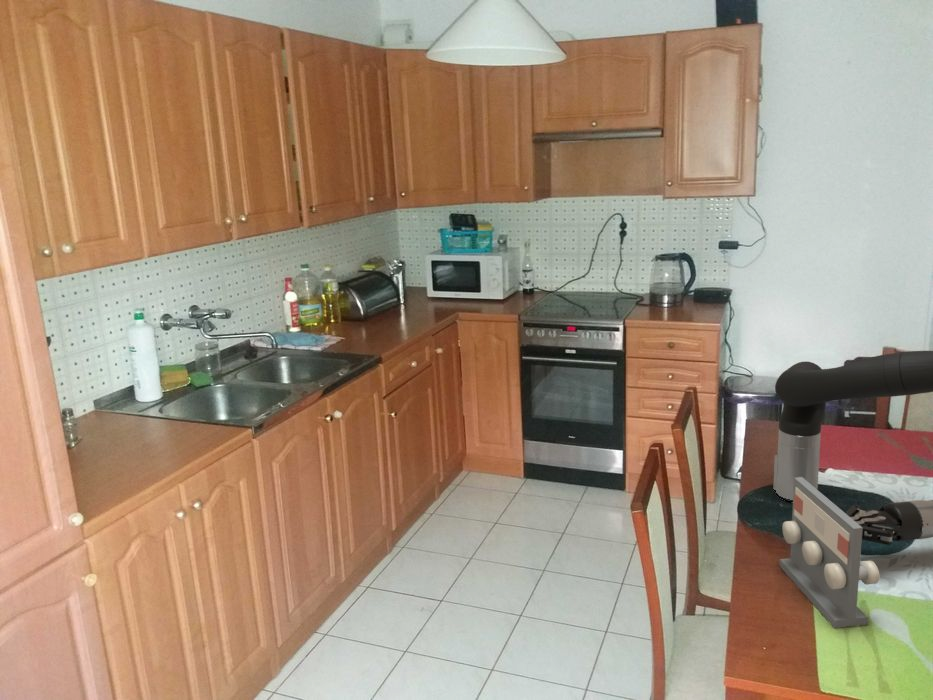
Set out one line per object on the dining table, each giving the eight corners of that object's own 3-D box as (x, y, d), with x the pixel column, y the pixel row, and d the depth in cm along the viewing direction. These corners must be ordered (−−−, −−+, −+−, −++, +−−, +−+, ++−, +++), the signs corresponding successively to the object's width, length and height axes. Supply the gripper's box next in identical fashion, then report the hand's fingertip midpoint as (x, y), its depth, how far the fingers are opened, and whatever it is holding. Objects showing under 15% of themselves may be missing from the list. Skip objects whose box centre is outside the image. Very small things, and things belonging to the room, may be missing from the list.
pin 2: (864, 576, 139) (866, 554, 138) (879, 589, 135) (880, 567, 133) (823, 580, 138) (824, 559, 137) (836, 594, 134) (838, 572, 133)
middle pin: (840, 553, 147) (842, 533, 145) (853, 565, 142) (855, 544, 141) (801, 557, 146) (802, 537, 145) (813, 569, 142) (814, 548, 141)
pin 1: (819, 533, 154) (820, 513, 153) (830, 544, 150) (832, 524, 149) (781, 537, 154) (782, 517, 153) (792, 548, 150) (793, 528, 148)
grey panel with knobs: (807, 563, 156) (812, 476, 151) (866, 625, 136) (875, 526, 131) (779, 566, 156) (783, 478, 151) (834, 628, 136) (841, 529, 131)
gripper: (893, 488, 158) (813, 496, 157) (936, 518, 145) (849, 527, 144) (890, 521, 160) (811, 529, 159) (932, 553, 147) (846, 562, 146)
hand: (829, 528), depth 152 cm, fingers closed
